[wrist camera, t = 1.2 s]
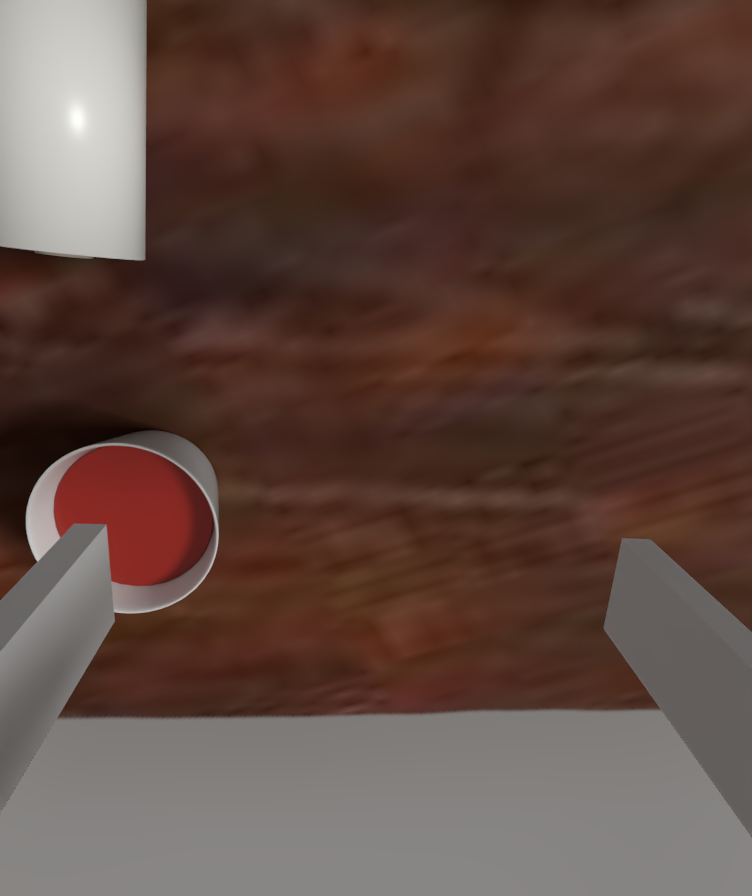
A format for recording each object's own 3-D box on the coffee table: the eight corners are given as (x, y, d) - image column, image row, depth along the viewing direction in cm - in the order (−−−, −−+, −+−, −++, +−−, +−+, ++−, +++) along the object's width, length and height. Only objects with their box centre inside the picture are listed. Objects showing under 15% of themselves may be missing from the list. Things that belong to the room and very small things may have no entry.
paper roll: (10, -12, 28) (-95, -99, 21) (166, 12, 28) (112, -65, 22) (23, 247, 31) (-64, 243, 24) (162, 264, 32) (115, 265, 25)
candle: (248, 545, 37) (232, 601, 31) (98, 563, 36) (52, 623, 30) (222, 402, 34) (199, 432, 28) (60, 420, 34) (2, 454, 28)
